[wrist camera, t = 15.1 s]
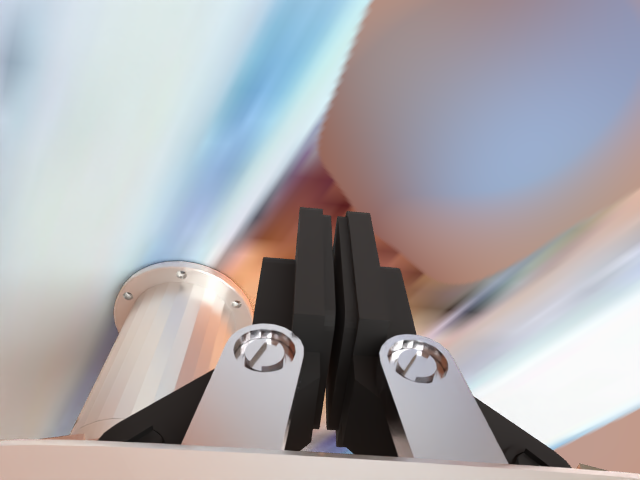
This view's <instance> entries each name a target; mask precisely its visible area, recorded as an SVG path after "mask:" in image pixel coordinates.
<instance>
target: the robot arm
mask: <svg viewBox="0 0 640 480" xmlns="http://www.w3.org/2000/svg"><path fill="white" fill-rule="evenodd" d="M114 320H115V325H116V327H117V330H118V333H119V335H118V337H117V339H116V341H115V343H114V345H113V347H112V349H111V351H110V353H109V355H108V357H107V359H106V361H105V364H104V366H103V368H102V370H101V372H100V374H99V376H98V378H97V380H96V382H95V384H94V386H93V388H92V390H91V392H90V394H89V396H88V398H87V400H86V402H85V404H84V406H83V408H82V410H81V413H80V415H79V417H78V419H77V421H76V423H75V425H74V427H73V429H72V431H71V433H70V435H67V436H60V437H52V438H44V439H12V440H0V480H640V474H636V473H626V472H612V471H607V470H603V469H599V468H595V467H591V466H588V465H583V464H579V465H578V467H577V469H573V468H571V467H570V465H569V464H568V463H567V462H566V461H565V460H564V459H563V458H562V457H561V456H559V455H558V454H557V453H556V452H555V451H553V450H552V449H550V448H549V447H547V446H546V445H544V444H543V443H542V442H540V441H539V440H537V439H536V438H534V437H533V436H531V435H530V434H528V433H527V432H525V431H524V430H522V429H521V428H519V427H518V426H517V425H515V424H514V423H512V422H511V421H509V420H508V419H506V418H505V417H503V416H502V415H500V414H499V413H497V412H496V411H494V410H493V409H491V408H490V407H489V406H487V405H486V404H484V403H483V402H481V401H480V400H478V399H477V398H475V397H474V396H473V394H472V392H471V391H470V389H469V387H468V385H467V383H466V381H465V379H464V377H463V375H462V373H461V371H460V369H459V367H458V365H457V364H456V362H455V360H454V358H453V357H452V355H451V354H450V353H449V351H448V350H447V349H445V348H444V347H443V346H442V345H440V344H439V343H437V342H435V341H433V340H431V339H429V338H426V337H423V336H419V335H416V331H415V327H414V322H413V318H412V314H411V310H410V306H409V302H408V298H407V294H406V290H405V286H404V282H403V278H402V274H401V271H400V269H399V268H391V267H380V264H379V258H378V253H377V248H376V242H375V237H374V232H373V227H372V221H371V217H370V213H361V212H350V211H347V212H346V216H345V217H339V216H338V217H337V222H336V229H335V237H334V244H333V247H332V227H331V216H328V215H323V209H315V208H304V207H300V212H299V223H298V234H297V245H296V256H295V260H293V259H280V258H268V257H264V258H263V262H262V268H261V274H260V280H259V286H258V292H257V298H256V305H255V311H254V316H253V311H252V307H251V305H250V303H249V300H248V298H247V297H246V295H245V294H244V292H243V291H242V290H241V288H240V287H239V286H237V285H236V284H235V283H234V282H233V281H232V280H231V279H230V278H228V277H227V276H225V275H223V274H222V273H220V272H218V271H216V270H214V269H212V268H210V267H207V266H204V265H200V264H196V263H191V262H183V261H171V262H162V263H158V264H153V265H151V266H148V267H146V268H143V269H141V270H140V271H138V272H137V273H135V274H134V275H132V276H131V277H130V278H129V279H128V280H127V281H126V282H125V284H124V285H123V287H122V289H121V290H120V292H119V294H118V296H117V299H116V301H115V305H114ZM325 388H326V425H327V430H336V447H347V448H348V449H349V450H350V451H351V452H352V453H353V454H339V453H322V452H305V451H300V450H302V449H303V448H304V447H305V446H307V445H308V444H309V443H310V442H311V438H312V430H313V429H319V427H320V421H321V414H322V408H323V401H324V395H325Z"/></svg>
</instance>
